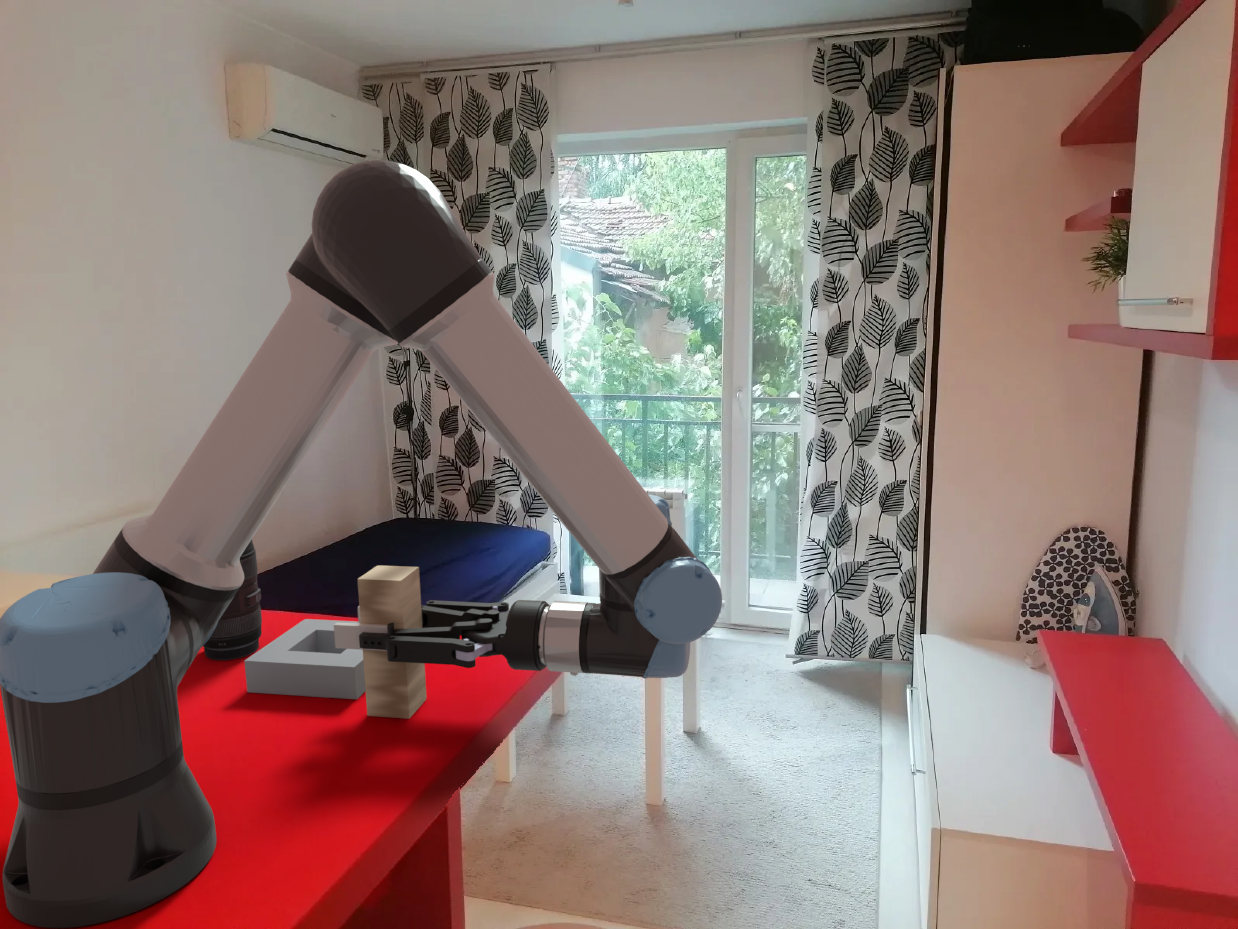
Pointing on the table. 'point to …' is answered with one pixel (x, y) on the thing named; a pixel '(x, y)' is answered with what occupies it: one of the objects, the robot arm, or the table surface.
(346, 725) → the table surface
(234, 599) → the camera lens
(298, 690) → the socket block
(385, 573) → the peg
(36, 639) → the robot arm
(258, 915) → the table surface
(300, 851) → the table surface
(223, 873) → the table surface
